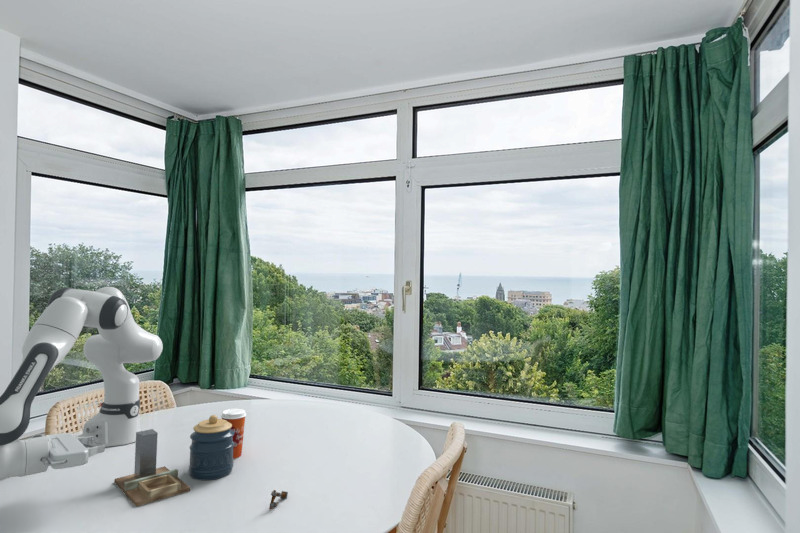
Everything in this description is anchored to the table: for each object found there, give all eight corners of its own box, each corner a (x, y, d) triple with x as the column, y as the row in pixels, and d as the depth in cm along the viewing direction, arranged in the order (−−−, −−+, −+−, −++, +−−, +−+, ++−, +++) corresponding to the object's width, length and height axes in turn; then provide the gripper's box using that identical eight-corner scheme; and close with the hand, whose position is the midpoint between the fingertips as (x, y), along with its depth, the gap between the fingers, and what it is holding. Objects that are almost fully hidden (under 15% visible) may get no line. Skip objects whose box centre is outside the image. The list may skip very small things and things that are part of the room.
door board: (136, 506, 125) (136, 495, 125) (114, 482, 139) (114, 471, 139) (190, 490, 135) (190, 480, 135) (164, 469, 149) (165, 459, 149)
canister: (206, 484, 139) (208, 424, 139) (179, 474, 146) (181, 416, 146) (242, 470, 150) (244, 414, 150) (215, 461, 157) (217, 407, 157)
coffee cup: (236, 461, 157) (238, 415, 157) (214, 458, 158) (216, 413, 159) (249, 452, 165) (251, 409, 165) (228, 450, 167) (229, 407, 167)
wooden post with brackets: (265, 508, 124) (269, 489, 126) (278, 508, 131) (282, 490, 133) (271, 509, 124) (275, 490, 126) (284, 509, 131) (288, 491, 133)
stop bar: (139, 481, 138) (141, 436, 138) (134, 476, 141) (136, 432, 141) (155, 476, 141) (157, 432, 141) (150, 472, 144) (152, 429, 144)
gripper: (46, 453, 115) (110, 441, 125) (32, 433, 130) (91, 424, 139) (44, 479, 115) (109, 465, 125) (30, 457, 129) (89, 445, 139)
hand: (99, 443), depth 132 cm, fingers open, 8 cm apart
